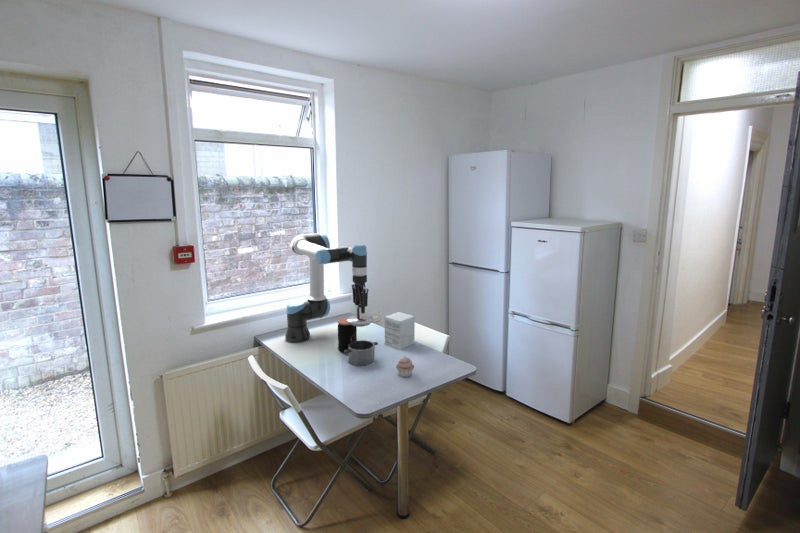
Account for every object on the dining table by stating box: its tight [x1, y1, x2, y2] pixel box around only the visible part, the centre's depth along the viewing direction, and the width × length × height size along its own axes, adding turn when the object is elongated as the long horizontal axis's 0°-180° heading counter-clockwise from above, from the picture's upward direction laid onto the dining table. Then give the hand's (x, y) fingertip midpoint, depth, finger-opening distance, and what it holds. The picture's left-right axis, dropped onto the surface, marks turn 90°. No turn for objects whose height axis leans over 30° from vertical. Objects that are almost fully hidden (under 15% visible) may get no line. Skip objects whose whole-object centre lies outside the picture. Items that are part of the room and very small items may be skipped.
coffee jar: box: [337, 317, 358, 354], centre depth 230 cm, size 11×11×18 cm
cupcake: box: [395, 356, 415, 379], centre depth 201 cm, size 9×9×10 cm
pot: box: [343, 339, 379, 367], centre depth 217 cm, size 20×14×9 cm
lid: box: [346, 304, 374, 328], centre depth 212 cm, size 14×14×10 cm
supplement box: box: [384, 311, 416, 350], centre depth 240 cm, size 13×13×18 cm
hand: (360, 317), depth 213 cm, fingers closed on lid, 3 cm apart
